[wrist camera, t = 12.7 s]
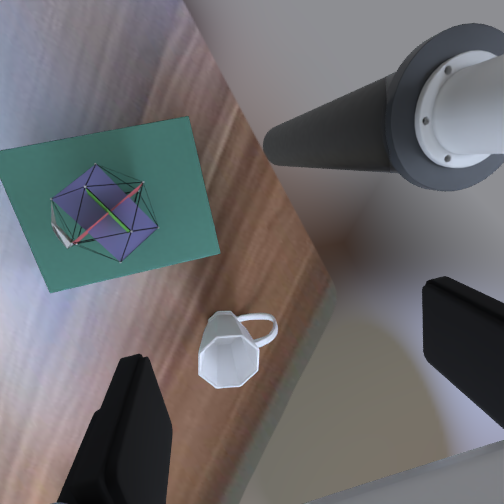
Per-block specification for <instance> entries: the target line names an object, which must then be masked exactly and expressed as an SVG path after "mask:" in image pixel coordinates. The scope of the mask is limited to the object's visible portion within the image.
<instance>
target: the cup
mask: <svg viewBox="0 0 504 504" xmlns="http://www.w3.org/2000/svg"><path fill="white" fill-rule="evenodd" d="M252 319H266V320H271V321H272V322H273V329H272V330H271V332H270V333H269V334H268V335H267V336H265V337H261V338H258V339H254V340H253V339H252V337H251V335H250V334H249V332H248V330H247V329H246V328H245V327H244V326H243V325H242V323H241V322H242V321H245V320H252ZM277 333H278V326H277V323H276V320H275V317H274V316H272V315H271V314H267V313H250V314H244V315H240V316H236V315H234V314H233V313H232V312H231V311H217V312H216V313H215V314H214V315H212V316H211V317H210V318H209V319H208V324H207V326H206V328H205V330H204V333H203V337H202V341H201V345H200V349H199V353H198V371H199V376H201V377H202V378H203V379H205V380H206V381H207V382H208V383H210V384H211V385H212V386H214V387H215V388H228V387H241V386H242V385H243V384H244V383H245V382H246V381H247V380H248V379H249V378H251V377H252V376H253V375H254V374H255V373H256V372H257V371H258V365H259V348H258V347H262V346H264V345H266V344H268V343H269V342H271V341H272V340H273V339H274V338H275V336H276V335H277Z"/></svg>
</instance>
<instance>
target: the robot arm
mask: <svg viewBox="0 0 504 504" xmlns="http://www.w3.org/2000/svg"><path fill="white" fill-rule="evenodd" d="M415 132H416V137H417V140H418V143H419V145H420V147H421V149H422V150H423V152H424V154H425V155H426V156H427V157H428V158H429V159H430V160H432V161H433V162H435V163H436V164H438V165H441V166H444V167H449V168H464V167H469V166H472V165H475V164H477V163H479V162H481V161H483V160H484V159H486V158H487V157H489V156H490V155H491V154H504V54H503V55H501V56H496V55H494V54H492V53H490V52H487V51H481V50H475V51H468V52H464V53H461V54H459V55H456V56H454V57H452V58H450V59H448V60H447V61H445V62H444V63H442V64H441V65H440V66H439V67H438V68H437V69H436V70H435V71H434V72H433V73H432V74H431V76H430V77H429V78H428V80H427V81H426V83H425V84H424V86H423V88H422V90H421V92H420V95H419V98H418V101H417V105H416V110H415ZM422 304H423V305H422V307H423V352H424V356H425V358H426V360H427V361H428V362H429V363H430V364H431V365H432V366H433V367H434V368H435V369H437V370H438V371H439V372H440V373H441V374H442V375H443V376H445V377H446V378H447V379H448V380H449V381H450V382H451V383H452V384H453V385H455V386H456V387H457V388H458V389H459V390H460V391H461V392H463V393H464V394H465V395H466V396H467V397H468V398H470V400H472V401H473V402H474V403H475V404H476V405H477V406H478V407H479V408H481V409H482V410H483V411H484V412H485V413H486V414H488V415H489V416H490V417H491V418H492V419H493V420H494V421H495V422H496V423H498V424H499V425H500V426H501V427H503V429H504V303H502V302H500V301H498V300H496V299H494V298H492V297H490V296H487V295H485V294H483V293H481V292H479V291H477V290H475V289H473V288H470V287H468V286H466V285H464V284H462V283H460V282H457V281H455V280H453V279H451V278H449V277H446V276H444V277H439V278H436V279H431V280H428V281H427V282H426V285H425V286H424V287H423V289H422ZM171 445H172V424H171V420H170V418H169V415H168V412H167V409H166V406H165V403H164V400H163V397H162V394H161V392H160V389H159V386H158V383H157V380H156V377H155V374H154V371H153V368H152V366H151V363H150V360H149V358H148V357H142V355H141V354H136V355H132V356H128V357H124V358H121V359H120V361H119V363H118V366H117V368H116V371H115V373H114V376H113V378H112V381H111V383H110V386H109V388H108V391H107V393H106V396H105V398H104V401H103V403H102V406H101V408H100V409H99V410H97V411H96V412H95V413H94V415H93V417H92V419H91V422H90V424H89V426H88V429H87V431H86V434H85V436H84V438H83V441H82V443H81V445H80V448H79V450H78V453H77V455H76V457H75V460H74V462H73V465H72V467H71V469H70V472H69V474H68V476H67V479H66V481H65V484H64V486H63V488H62V491H61V493H60V496H59V498H58V500H57V503H52V504H166V495H167V485H168V475H169V465H170V455H171ZM303 504H504V440H502V441H499V442H496V443H492V444H489V445H486V446H483V447H480V448H476V449H473V450H470V451H467V452H463V453H460V454H457V455H454V456H451V457H448V458H444V459H441V460H438V461H435V462H432V463H429V464H426V465H422V466H419V467H416V468H413V469H410V470H406V471H403V472H400V473H397V474H394V475H391V476H388V477H385V478H381V479H378V480H375V481H372V482H369V483H365V484H362V485H359V486H356V487H353V488H350V489H347V490H344V491H340V492H338V493H334V494H331V495H328V496H325V497H322V498H319V499H316V500H313V501H310V502H306V503H303Z"/></svg>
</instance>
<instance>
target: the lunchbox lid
mask: <svg viewBox="0 0 504 504" xmlns="http://www.w3.org/2000/svg"><path fill="white" fill-rule="evenodd" d="M94 163H96V164H98V165H100V168H101V167H102V166H103V167H102V168H104V169H105V170H107V171H108V172H110V173H111V174H110V173H108V172H107V171H105V170H104V169H102V168H101V170H102V171H103V172H104V173H105V174H106V175H107V176H108V177H109V178H110V179H111V180H112V181H113V182H114V183H115V184H119V183H124V182H126V183H132V182H141V181H144V184H143V187H142V186H141V187H142V192H141V196H140V200H139V204H138V207H139V208H140V209H141V210H142V211H143V212H144V213H145V214H146V215H147V216H148V217H149V218H150V219H151V220H152V221H153V222H154V223H155V221H157V222H156V223H157V224H158V227H159V229H158V228H157V229H156V230H155V231H154V232H153V233H152V234H151V235H150V236H149V237H148V238H147V239H146V240H145V241H143V242H142V243H141V244H140V245H139V246H138V247H137V248H136V249H135V250H134V251H133V252H132V253H131V254H129V255H128V256H127V257H126V258H125V259H124V260H123V261H122V263H120V262H118V261H119V260H117V259H116V258H115V257H114V256H113V255H112V254H111V253H110V252H109V251H108V250H106V249H105V248H104V247H103V246H102V245H101V244H100V243H99V242H98V241H97V240H96V239H94V238H93V237H92V236H91V235H90V234H89V233H88V234H87V235H86V236H85V237H84V238H82V239H81V240H80V241H84V240H89V239H94V240H96V241H91V240H89V241H91V242H85V241H84V242H85V243H80V242H79V243H80V244H79V245H78V244H77V245H78V246H76V244H75V245H73V246H72V247H70V248H69V249H67V247H65V246H64V245H65V244H64V245H63V243H64V242H63V241H62V239H61V237H60V236H59V238H60V239H61V241H62V242H63V243H62V242H61V241H60V240H59V239H58V238H57V236H56V235H55V233H54V231H53V228H52V225H51V201H52V200H50V198H53V197H54V196H55V195H57V194H58V193H59V192H60V191H62V190H63V189H64V188H66V187H67V186H68V185H69V184H71V183H72V182H73V181H74V180H76V179H77V178H78V177H80V176H81V175H82V174H83V173H85V172H86V171H87V170H88V169H90V168H91V167H92V166H94V165H95V164H94ZM105 167H106V168H105ZM107 168H108V169H107ZM110 169H111V170H110ZM112 170H113V171H112ZM115 171H116V172H115ZM118 172H119V173H118ZM120 173H121V174H120ZM112 174H113V175H115V176H116V177H118V178H119V179H121V180H122V181H121V180H119V179H118V178H116V177H115V176H113V175H112ZM123 174H124V175H123ZM125 175H126V176H125ZM128 176H129V177H128ZM133 178H134V179H133ZM0 179H1V181H2V183H3V186H4V188H5V190H6V193H7V195H8V197H9V200H10V202H11V204H12V206H13V209H14V211H15V213H16V216H17V218H18V220H19V223H20V225H21V227H22V230H23V232H24V234H25V237H26V239H27V241H28V243H29V246H30V248H31V250H32V253H33V255H34V257H35V260H36V262H37V264H38V267H39V269H40V271H41V274H42V276H43V278H44V281H45V283H46V285H47V287H48V290H49V292H50V293H53V292H58V291H62V290H66V289H71V288H75V287H79V286H84V285H88V284H92V283H96V282H101V281H105V280H109V279H114V278H118V277H122V276H126V275H131V274H135V273H139V272H144V271H148V270H152V269H157V268H161V267H165V266H169V265H174V264H178V263H182V262H187V261H191V260H195V259H199V258H204V257H208V256H212V255H217V254H220V249H219V244H218V240H217V236H216V231H215V227H214V223H213V219H212V214H211V210H210V206H209V201H208V197H207V193H206V189H205V184H204V180H203V176H202V171H201V167H200V163H199V159H198V154H197V150H196V146H195V141H194V137H193V133H192V129H191V124H190V120H189V117H188V116H185V117H180V118H174V119H169V120H164V121H158V122H153V123H147V124H142V125H136V126H131V127H126V128H120V129H115V130H109V131H104V132H98V133H93V134H88V135H82V136H77V137H71V138H66V139H60V140H55V141H50V142H44V143H39V144H33V145H28V146H22V147H17V148H12V149H6V150H1V151H0ZM136 179H137V180H136ZM138 180H139V181H138ZM123 181H124V182H123ZM140 184H141V183H132V184H129V185H130V186H132V187H133V188H132V187H130V186H129V185H127V184H119V185H117V186H118V187H119V188H120V189H121V190H122V191H123V192H124V193H126V192H131V191H133V190H135V189H136V188H137V187H138V186H139V185H140ZM144 186H145V187H144ZM134 188H135V189H134ZM145 189H146V190H145ZM140 191H141V188H140V189H139V193H140ZM146 192H147V193H146ZM139 193H138V195H137V199H136V202H135V204H136V205H137V203H138V199H139V195H140V194H139ZM129 194H130V193H127V194H126V195H129ZM136 194H137V192H136V193H135V194H134V195H133V196H131V197H130V199H131V200H132V201H133V202H134V201H135V197H136ZM147 194H148V196H147ZM141 197H142V198H143V200H144V202H145V203H144V202H143V200H142V198H141ZM148 197H149V199H148ZM149 200H150V202H149ZM53 202H54V201H53ZM53 202H52V206H53V210H54V215H55V220H56V224H57V225H58V226H59V227H60V228H61V229H62V230H63V231H64V232H65V233H66V232H67V233H66V234H68V236H69V237H70V238H71V239H72V236H73V232H74V228H75V224H76V221H75V220H74V219H73V218H71V217H70V216H69V215H68V214H67V213H66V212H65V211H64V210H63V209H62V208H61V207H59V206H58V205H57V204H56V203H55V202H54V204H55V205H54V204H53ZM150 203H151V205H150ZM145 204H146V205H147V207H148V209H149V211H150V212H149V211H148V209H147V207H146V205H145ZM55 206H56V207H57V209H58V210H57V209H55V208H56V207H55ZM151 206H152V208H151ZM152 209H153V210H152ZM56 210H57V211H56ZM58 211H59V212H58ZM57 212H58V213H57ZM153 212H154V213H153ZM59 213H60V214H59ZM150 213H151V214H152V216H153V218H154V219H153V218H152V216H151V214H150ZM58 214H59V215H58ZM60 215H61V216H62V218H63V219H62V218H61V216H60ZM154 215H155V216H154ZM59 217H60V218H59ZM155 218H156V219H155ZM60 219H61V220H60ZM63 220H64V221H63ZM154 220H155V221H154ZM61 221H62V222H61ZM64 222H65V223H64ZM62 223H63V224H62ZM156 223H155V224H156ZM65 224H66V225H67V227H68V228H67V227H66V225H65ZM63 226H64V227H63ZM64 228H65V229H64ZM80 228H81V226H80V225H79V224H78V223H77V224H76V228H75V232H74V237H73V238H74V239H73V241H74V240H76V239H77V238H78V235H79V232H80ZM68 229H69V230H68ZM65 230H66V231H65ZM69 231H70V232H69ZM85 231H86V230H85V229H84V228H82V229H81V232H80V235H79V236H81V235H82V234H83V233H84V232H85ZM70 233H71V234H72V235H71V234H70ZM80 245H82V246H80ZM79 246H80V247H79ZM83 246H84V247H83ZM81 247H83V248H81ZM85 247H86V248H85ZM84 248H85V249H84ZM87 248H89V249H88V250H87ZM90 249H91V251H89V250H90ZM92 250H93V252H92ZM95 251H96V253H94V252H95ZM97 252H98V254H97ZM99 253H101V255H100V254H99ZM102 254H103V255H105V256H108V257H110V258H112V259H110V258H108V257H105V256H102ZM113 259H115V260H117V261H115V260H113Z"/></svg>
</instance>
